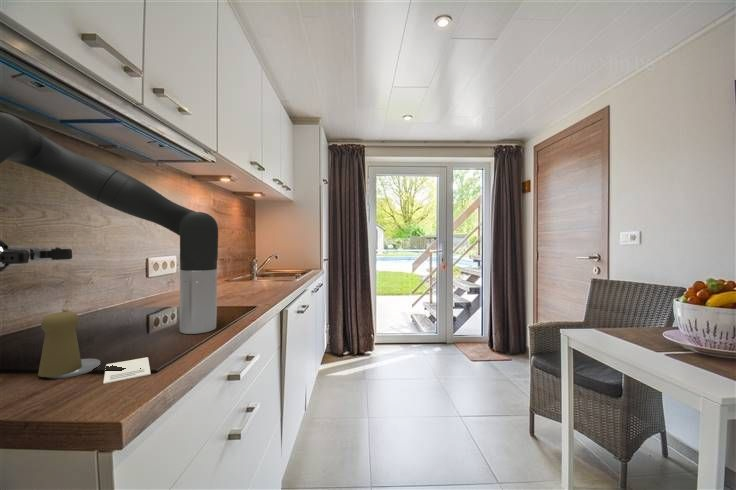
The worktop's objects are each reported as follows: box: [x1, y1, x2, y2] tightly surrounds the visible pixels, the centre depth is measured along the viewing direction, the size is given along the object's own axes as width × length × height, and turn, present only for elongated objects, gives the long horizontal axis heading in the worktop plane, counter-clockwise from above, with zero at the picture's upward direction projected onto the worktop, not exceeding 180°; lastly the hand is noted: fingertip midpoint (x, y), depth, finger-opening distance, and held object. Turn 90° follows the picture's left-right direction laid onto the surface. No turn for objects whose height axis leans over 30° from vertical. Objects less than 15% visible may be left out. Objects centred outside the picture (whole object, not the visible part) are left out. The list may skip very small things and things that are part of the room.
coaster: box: [46, 358, 101, 379], centre depth 62 cm, size 8×8×1 cm
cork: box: [37, 311, 82, 378], centre depth 60 cm, size 6×6×11 cm
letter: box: [102, 357, 152, 385], centre depth 63 cm, size 10×7×1 cm
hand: (50, 255), depth 62 cm, fingers open, 8 cm apart
